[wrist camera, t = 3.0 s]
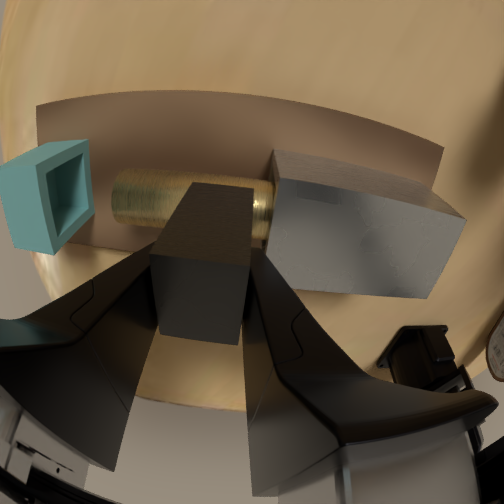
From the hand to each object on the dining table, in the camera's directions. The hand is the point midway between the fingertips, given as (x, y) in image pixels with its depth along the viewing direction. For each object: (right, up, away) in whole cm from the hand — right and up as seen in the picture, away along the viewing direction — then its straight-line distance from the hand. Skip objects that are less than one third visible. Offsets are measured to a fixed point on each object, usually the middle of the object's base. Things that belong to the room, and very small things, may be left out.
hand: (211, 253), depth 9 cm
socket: (-10, +5, +5) cm, 12 cm away
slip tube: (+3, +3, +4) cm, 6 cm away
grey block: (+7, +3, +6) cm, 9 cm away
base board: (0, +4, +6) cm, 8 cm away
